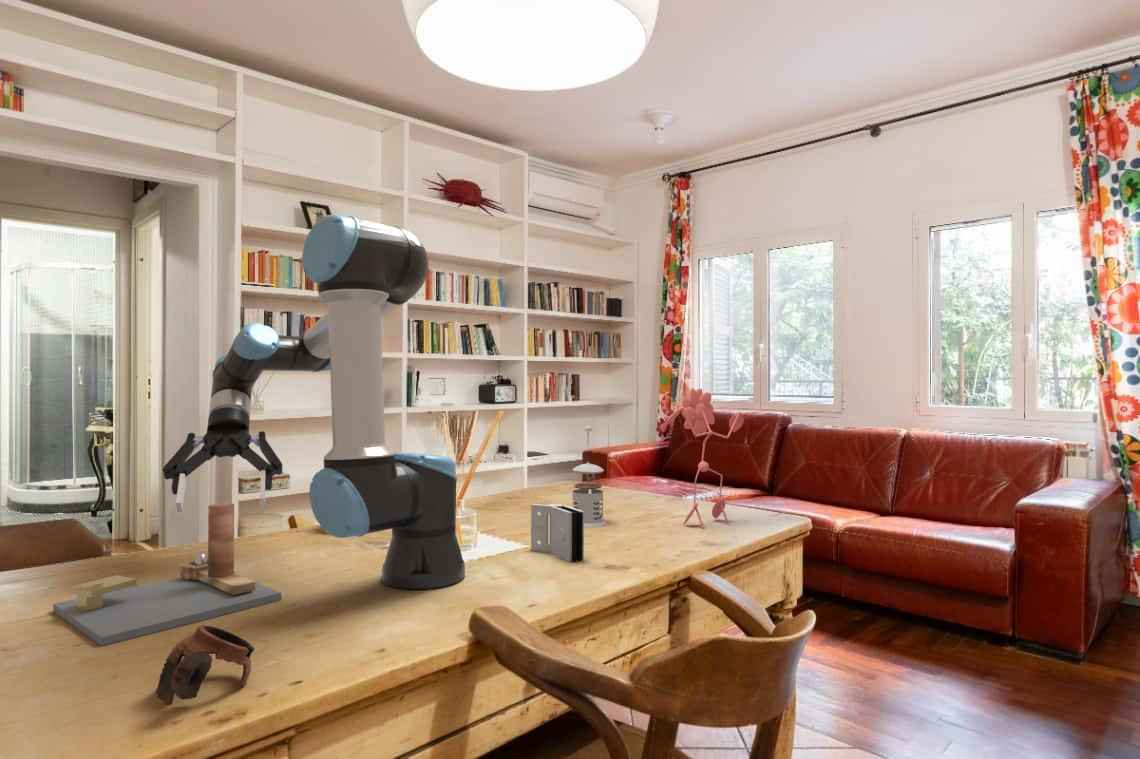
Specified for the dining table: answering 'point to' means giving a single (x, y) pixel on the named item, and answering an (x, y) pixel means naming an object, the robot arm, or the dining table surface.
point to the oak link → (219, 554)
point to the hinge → (558, 531)
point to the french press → (589, 501)
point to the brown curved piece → (200, 661)
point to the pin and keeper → (109, 587)
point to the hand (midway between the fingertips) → (221, 505)
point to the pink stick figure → (697, 420)
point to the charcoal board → (158, 608)
